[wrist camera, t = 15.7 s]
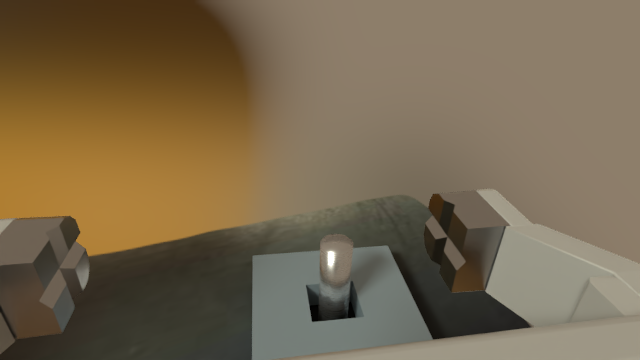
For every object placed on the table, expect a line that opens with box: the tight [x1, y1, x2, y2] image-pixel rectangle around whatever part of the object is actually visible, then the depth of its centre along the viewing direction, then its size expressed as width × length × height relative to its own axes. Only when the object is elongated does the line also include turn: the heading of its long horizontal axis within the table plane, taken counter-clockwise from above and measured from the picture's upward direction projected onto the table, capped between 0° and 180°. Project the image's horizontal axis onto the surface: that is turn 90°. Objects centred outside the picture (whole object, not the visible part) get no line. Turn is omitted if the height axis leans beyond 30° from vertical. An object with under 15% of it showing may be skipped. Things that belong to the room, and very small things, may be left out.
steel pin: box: [318, 234, 353, 321], centre depth 38 cm, size 3×3×10 cm
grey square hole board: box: [252, 246, 433, 360], centre depth 40 cm, size 16×16×3 cm
